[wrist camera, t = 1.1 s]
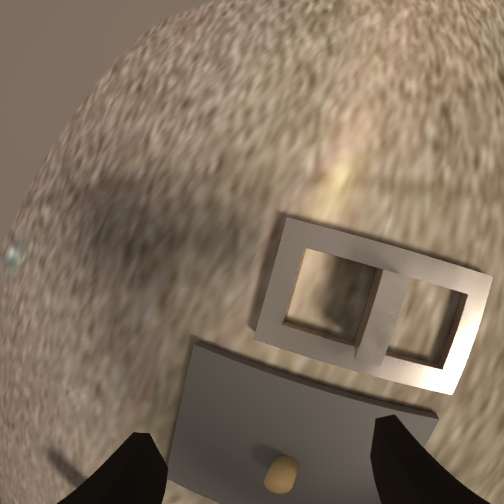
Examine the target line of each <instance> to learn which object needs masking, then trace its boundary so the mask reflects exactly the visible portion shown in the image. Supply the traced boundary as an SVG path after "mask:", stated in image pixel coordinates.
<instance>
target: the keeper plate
mask: <svg viewBox="0 0 504 504" xmlns="http://www.w3.org/2000/svg"><path fill="white" fill-rule="evenodd" d="M393 414H394V415H396V416H397V417H398V418H399V419H400V421H401V422H402V423H403V424H404V426H405V427H406V428H407V429H408V431H409V432H410V433H411V434H412V435H413V436H414V438H415V439H416V440H417V441H418V442H419V443H420V444H421V445H422V446H423V448H424V446H425V445H426V443H427V441H428V439H429V437H430V436H431V434H432V432H433V430H434V428H435V426H436V424H437V422H438V420H439V418H438V416H437V414H436V413H433V412H428V411H423V410H419V409H414V408H409V407H405V406H401V405H396V404H392V403H388V402H384V401H380V400H376V399H372V398H368V397H364V396H361V395H357V394H353V393H350V392H346V391H343V390H339V389H336V388H332V387H329V386H325V385H322V384H319V383H316V382H312V381H309V380H306V379H303V378H300V377H297V376H294V375H290V374H287V373H284V372H281V371H278V370H276V369H273V368H270V367H267V366H264V365H261V364H258V363H256V362H253V361H250V360H247V359H245V358H242V357H239V356H236V355H234V354H231V353H229V352H226V351H223V350H221V349H218V348H216V347H213V346H211V345H208V344H206V343H203V342H201V341H199V342H197V343H196V344H194V346H193V350H192V354H191V358H190V363H189V367H188V372H187V376H186V381H185V385H184V390H183V394H182V399H181V403H180V408H179V412H178V417H177V422H176V427H175V431H174V436H173V441H172V446H171V451H170V456H169V461H168V475H167V479H169V480H171V481H173V482H175V483H177V484H179V485H181V486H183V487H185V488H187V489H189V490H191V491H193V492H196V493H198V494H200V495H202V496H204V497H207V498H209V499H211V500H213V501H216V502H218V503H221V504H381V501H380V497H379V494H378V491H377V488H376V484H375V481H374V475H373V470H372V465H371V459H370V452H371V446H372V440H373V433H374V426H375V419H376V418H380V417H384V416H389V415H393Z"/></svg>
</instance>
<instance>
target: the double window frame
mask: <svg viewBox="0 0 504 504" xmlns="http://www.w3.org/2000/svg"><path fill="white" fill-rule="evenodd" d="M306 248H309V249H313V250H316V251H320V252H324V253H327V254H331V255H334V256H338V257H341V258H345V259H349V260H352V261H356V262H359V263H363V264H366V265H370V266H373V267H377V269H376V273H375V276H374V280H373V283H372V287H371V290H370V293H369V297H368V300H367V303H366V307H365V310H364V313H363V316H362V319H361V322H360V325H359V328H358V331H357V334H356V337H355V340H354V342H353V341H349V340H346V339H342V338H339V337H335V336H332V335H329V334H325V333H322V332H319V331H315V330H312V329H309V328H306V327H302V326H299V325H296V324H293V323H290V322H287V321H286V317H287V314H288V311H289V307H290V304H291V300H292V297H293V294H294V290H295V287H296V283H297V280H298V276H299V272H300V269H301V265H302V262H303V258H304V254H305V251H306ZM410 277H411V278H415V279H418V280H422V281H425V282H429V283H432V284H435V285H439V286H442V287H445V288H449V289H452V290H456V291H459V292H462V295H461V298H460V302H459V305H458V308H457V312H456V315H455V318H454V321H453V324H452V327H451V330H450V333H449V336H448V339H447V342H446V344H445V347H444V350H443V353H442V355H441V358H440V360H439V363H438V364H435V363H431V362H427V361H423V360H419V359H415V358H411V357H407V356H403V355H400V354H396V353H392V352H388V351H387V348H388V345H389V343H390V340H391V337H392V334H393V331H394V328H395V325H396V322H397V319H398V316H399V313H400V310H401V307H402V303H403V300H404V297H405V293H406V290H407V287H408V283H409V280H410ZM492 278H493V277H492V276H489V275H486V274H483V273H480V272H477V271H474V270H471V269H467V268H464V267H461V266H458V265H455V264H452V263H448V262H445V261H442V260H439V259H435V258H432V257H429V256H425V255H422V254H419V253H415V252H412V251H409V250H405V249H402V248H398V247H395V246H392V245H388V244H385V243H381V242H378V241H374V240H370V239H367V238H363V237H360V236H356V235H352V234H349V233H345V232H341V231H338V230H334V229H330V228H326V227H323V226H319V225H315V224H311V223H307V222H304V221H300V220H296V219H292V218H288V217H287V218H286V222H285V226H284V230H283V233H282V237H281V241H280V244H279V248H278V252H277V256H276V259H275V263H274V267H273V270H272V274H271V277H270V281H269V285H268V288H267V292H266V295H265V299H264V303H263V306H262V310H261V313H260V317H259V320H258V324H257V327H256V331H255V334H254V338H253V339H255V340H258V341H261V342H264V343H267V344H270V345H273V346H276V347H279V348H282V349H285V350H288V351H291V352H294V353H297V354H300V355H303V356H306V357H310V358H313V359H316V360H319V361H323V362H326V363H329V364H333V365H336V366H339V367H343V368H346V369H350V370H353V371H357V372H361V373H364V374H368V375H371V376H375V377H379V378H383V379H387V380H391V381H394V382H398V383H402V384H407V385H411V386H415V387H419V388H423V389H428V390H432V391H437V392H441V393H446V394H451V395H452V394H453V392H454V389H455V387H456V385H457V383H458V380H459V378H460V376H461V373H462V371H463V368H464V366H465V363H466V361H467V358H468V355H469V353H470V350H471V347H472V345H473V342H474V339H475V336H476V333H477V330H478V327H479V324H480V321H481V318H482V314H483V311H484V308H485V304H486V301H487V297H488V294H489V290H490V286H491V282H492Z"/></svg>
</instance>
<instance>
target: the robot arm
mask: <svg viewBox="0 0 504 504" xmlns="http://www.w3.org/2000/svg"><path fill="white" fill-rule="evenodd" d="M370 459H371V465H372V470H373V475H374V481H375V484H376V488H377V491H378V494H379V497H380V501H381V504H490V503H489V502H487V501H486V500H484V499H483V498H481V497H479V496H478V495H476V494H475V493H474V492H472V491H471V490H470V489H468V488H467V487H466V486H464V485H463V484H462V483H460V482H459V481H458V480H457V479H456V478H454V477H453V476H452V475H451V474H450V473H449V472H448V471H447V470H445V469H444V468H443V467H442V466H441V465H440V464H439V463H438V462H437V461H436V460H435V459H434V458H433V457H432V456H431V455H430V454H429V453H428V452H427V451H426V450H425V449H424V448H423V446H422V445H421V444H420V443H419V442H418V441H417V440H416V439H415V438H414V436H413V435H412V434H411V433H410V432H409V431H408V429H407V428H406V427H405V426H404V424H403V423H402V422H401V421H400V419H399V418H398V417H397V416H396V415H394V414H393V415H389V416H384V417H380V418H376V419H375V426H374V433H373V440H372V446H371V452H370ZM167 475H168V466H167V465H166V463H165V461H164V459H163V458H162V456H161V454H160V452H159V450H158V449H157V447H156V445H155V443H154V441H153V439H152V437H151V435H150V433H137V432H133V433H132V434H131V435H130V436H129V438H128V439H127V440H126V441H125V442H124V443H123V444H122V445H121V446H120V447H119V448H118V449H117V450H116V451H115V452H114V453H113V454H112V455H111V456H110V457H109V458H108V460H107V461H106V462H105V463H104V464H103V465H102V466H101V467H100V468H99V469H98V470H97V471H96V472H95V473H93V474H92V475H91V476H90V477H89V478H88V479H87V480H86V481H85V482H84V483H82V484H81V485H80V486H79V487H78V488H77V489H76V490H74V491H73V492H72V493H71V494H69V495H68V496H67V497H65V498H64V499H63V500H61V501H60V502H58V503H57V504H162V500H163V497H164V493H165V488H166V482H167Z"/></svg>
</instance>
